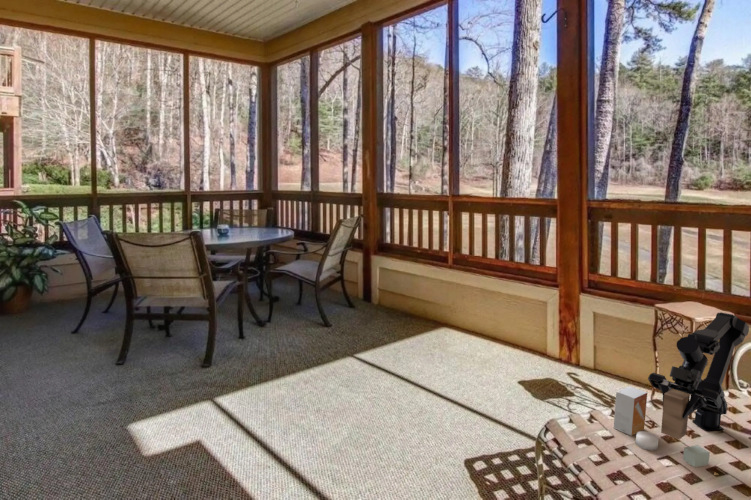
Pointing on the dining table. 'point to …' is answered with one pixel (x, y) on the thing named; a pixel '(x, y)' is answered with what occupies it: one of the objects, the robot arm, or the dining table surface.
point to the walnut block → (674, 414)
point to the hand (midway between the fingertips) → (673, 414)
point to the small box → (630, 410)
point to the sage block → (696, 456)
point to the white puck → (646, 440)
